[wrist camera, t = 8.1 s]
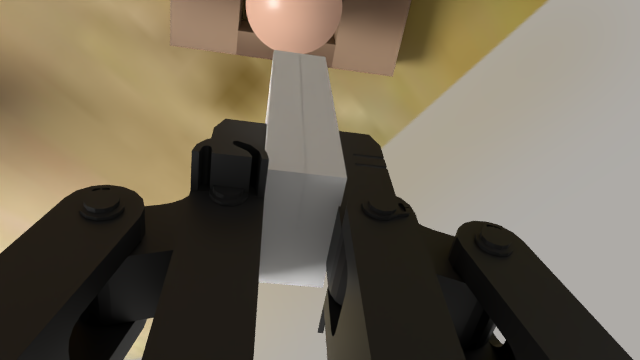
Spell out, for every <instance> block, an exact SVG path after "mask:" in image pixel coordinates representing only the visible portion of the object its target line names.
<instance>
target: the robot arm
mask: <svg viewBox="0 0 640 360" xmlns="http://www.w3.org/2000/svg"><path fill="white" fill-rule="evenodd" d="M383 158H384V157H383V154H382V150H381V147H380V145H379V144H378V143H377V142H376V141H375V140H374V139H373V138H372V137H371V136H370V135H366V134H358V133H350V132H342V131H339V130H338V124H337V119H336V113H335V108H334V102H333V96H332V91H331V85H330V80H329V74H328V68H327V63H326V57H322V56H315V55H308V54H301V53H293V52H286V51H279V50H274V53H273V61H272V70H271V79H270V87H269V96H268V105H267V113H266V122H265V124H264V123H255V122H247V121H239V120H231V119H225V120H223V121H222V122H221V123H220V124H218V125H217V126H216V127H214V130H213V134H212V137H211V139H206V140H204V141H202V142H200V143H198V144H197V145H196V146H195V147H194V149H193V150H192V162H191V191H190V194H189V196H187V197H186V198H184V199H182V200H179V201H176V202H173V203H168V204H162V205H154V206H144V202H143V199H142V198H141V197H140V196H139V195H138V194H137V193H136V192H135V191H132V190H130V189H127V188H125V187H121V186H113V185H98V186H91V187H87V188H84V189H80V190H77V191H75V192H74V193H72V194H70V195H69V196H67V197H65V198H64V199H63V200H62V201H60V202H59V203H58V204H57V205H56V206H55V207H54V208H52V209H51V210H50V211H49V212H48V213H47V214H45V215H44V216H43V217H42V218H41V219H40V220H39V221H37V222H36V223H35V224H34V225H33V226H32V227H30V228H29V229H28V230H27V231H26V232H25V233H24V234H22V235H21V236H20V237H19V238H18V239H17V240H15V241H14V242H13V243H12V244H11V245H10V246H9V247H7V248H6V249H5V250H4V251H3V252H2V253H0V360H123V359H124V358H125V356H126V354H127V353H128V351H129V350H130V348H131V347H132V345H133V343H134V342H135V340H136V339H137V337H138V336H139V334H140V333H141V331H142V329H143V328H144V325H145V323H146V320H147V319H148V318H153V317H154V319H153V322H152V326H151V329H150V333H149V336H148V340H147V343H146V346H145V350H144V353H143V357H142V360H253V356H254V342H255V327H256V312H257V298H258V297H257V296H258V283H259V282H261V283H274V284H286V285H299V286H312V287H323V284H324V279H325V274H326V270H327V279H328V288H327V293H326V297H325V302H324V306H323V310H322V314H321V319H320V323H319V328H318V333H323V331H324V327H325V331H326V344H327V359H328V360H633V359H632V358H631V357H630V356H629V355H628V354H627V352H626V351H624V349H623V348H622V347H621V346H620V345H619V344H618V343H617V342H616V341H615V340H614V339H613V338H612V336H611V335H610V334H609V333H608V332H607V331H606V330H605V329H604V328H603V327H602V326H601V324H600V323H599V322H598V321H597V320H596V319H595V318H594V317H593V316H592V315H591V314H590V313H589V312H588V310H587V309H586V308H585V307H584V306H583V305H582V304H581V303H580V302H579V301H578V300H577V299H576V298H575V296H573V294H572V293H571V292H570V291H569V290H568V289H567V288H566V287H565V286H564V285H563V284H562V282H561V281H560V280H559V279H558V278H557V277H556V276H555V275H554V274H553V273H552V272H551V271H550V269H549V268H548V267H547V266H546V265H545V264H544V263H543V262H542V261H541V260H540V259H539V258H538V257H537V255H535V253H534V252H533V251H532V250H531V249H530V248H529V247H528V246H527V245H526V244H525V243H524V241H522V240H521V239H520V238H519V237H518V236H516V235H515V234H514V233H513V232H511V231H509V230H507V229H505V228H503V227H502V226H499V225H497V224H493V223H489V222H483V221H471V222H467V223H464V224H463V225H462V226H460V227H459V228H458V230H457V233H456V236H451V235H448V234H445V233H441V232H438V231H435V230H432V229H429V228H427V227H424V226H422V225H420V224H419V223H418V220H417V218H416V215H415V213H414V211H413V210H412V208H411V206H410V205H409V204H407V203H406V202H405V201H404V200H402V199H401V198H399V197H397V196H396V195H395V192H394V189H393V186H392V182H391V179H390V176H389V173H388V170H387V169H386V163H385V160H384V159H383ZM496 326H497V328H498V329H499V331H500V332H501V333H502V335H503V336H504V337H505V339H506V341H505V343H504V344H502V343H500V341H499V340H498V339H497V338H496V336H495V335H494V333H493V331H494V329H495V327H496Z"/></svg>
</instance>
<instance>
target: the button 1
mask: <svg viewBox="0 0 640 360" xmlns="http://www.w3.org/2000/svg"><path fill="white" fill-rule="evenodd" d="M246 13H247V17H248V21H249V23H250V26H251V28H252V30H253V31H254V33H255V34H256V36H257V37H258V38H259V39H260V40H261V41H262V42H263V43H264V44H265V45H267V46H268V47H270V48H271V49H273V50H279V51H286V52H293V53H301V54H306V53H309V52H312V51H314V50H316V49H318V48H320V47H321V46H323V45H324V44H325V43H326V42H327V41H328V40H329V39H330V38H331V37H332V36H333V34H334V33H335V31H336V29H337V28H338V25H339V23H340V19H341V15H342V0H246Z"/></svg>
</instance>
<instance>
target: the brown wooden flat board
mask: <svg viewBox="0 0 640 360" xmlns="http://www.w3.org/2000/svg"><path fill="white" fill-rule="evenodd" d="M410 4H411V0H342V15H341V19H340V23H339V25H338V28H337V29H336V31H335V33H334V34H333V36H332V37H331V38H330V39H329V40H328V41H327V42H326V43H325V44H324V45H323V46H321V47H320V48H318V49H316V50H314V51H312V52H309V53H306V54H308V55H315V56H322V57H326V63H327V67H328V68H335V69H342V70H349V71H356V72H364V73H371V74H378V75H385V76H392V77H393V73H394V69H395V65H396V61H397V57H398V53H399V49H400V44H401V40H402V36H403V32H404V28H405V24H406V20H407V16H408V12H409V8H410ZM242 7H243V0H170V46H177V47H185V48H192V49H199V50H206V51H213V52H220V53H228V54H235V55H242V56H249V57H256V58H263V59H271V60H273V53H274V50H273V49H271V48H270V47H268V46H267V45H265V44H264V43H263V42H262V41H261V40H260V39H259V38H258V37H257V36H256V34H255V33H254V31H253V30H252V28H251V26H250V23H249V21H246V20H241V19H242Z"/></svg>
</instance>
